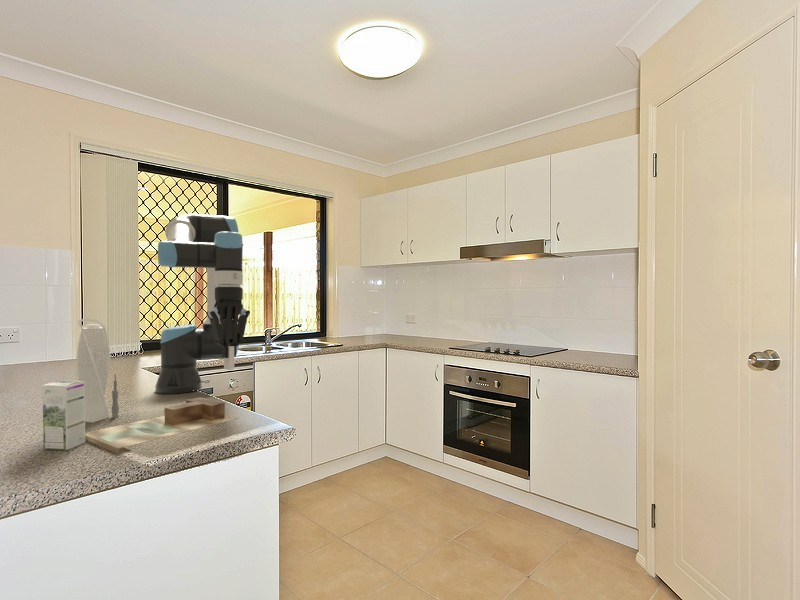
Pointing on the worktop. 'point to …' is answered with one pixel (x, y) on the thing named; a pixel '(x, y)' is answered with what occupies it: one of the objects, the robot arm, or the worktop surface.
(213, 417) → the t block
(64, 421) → the syrup box
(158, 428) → the board
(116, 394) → the skyscraper
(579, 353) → the worktop surface
